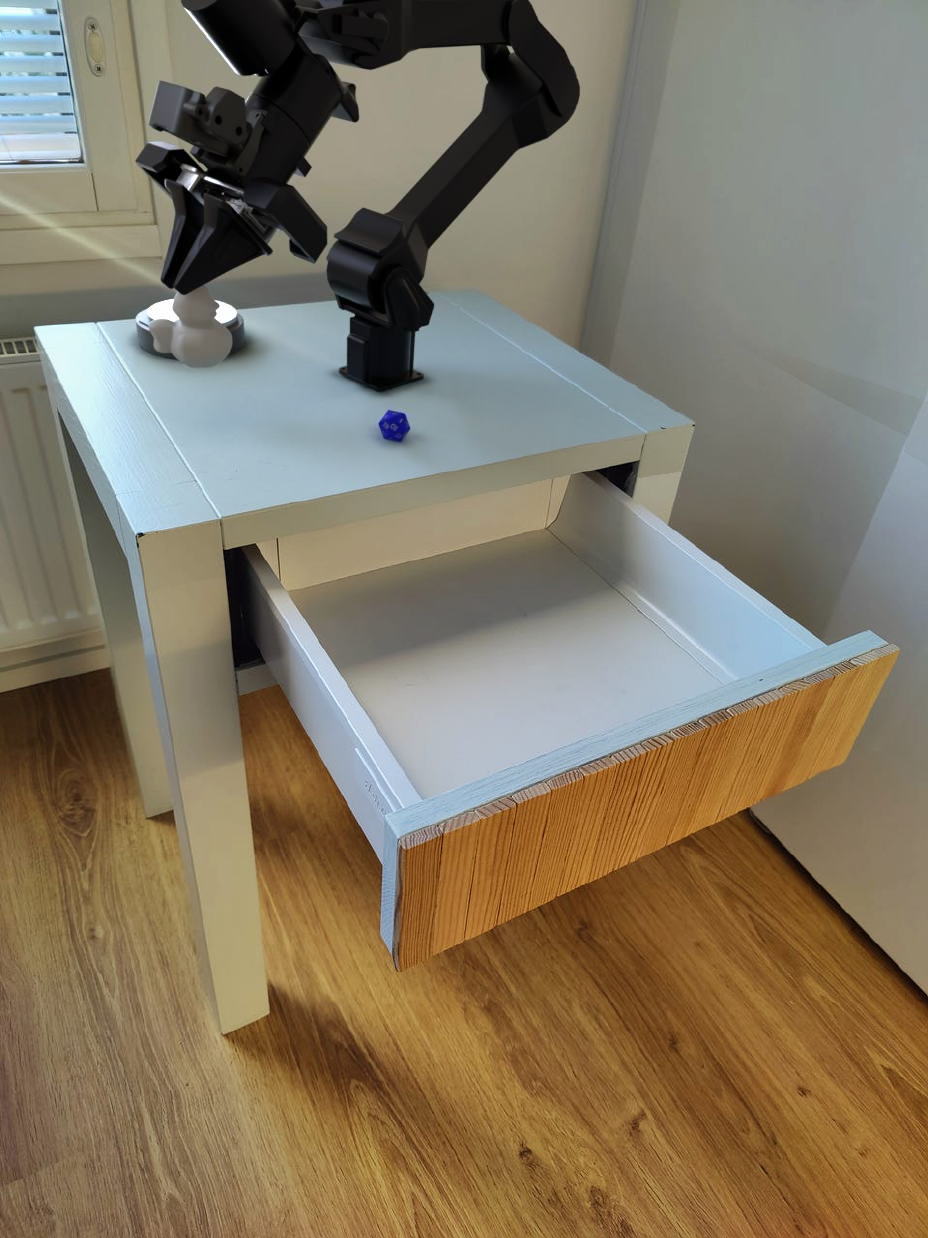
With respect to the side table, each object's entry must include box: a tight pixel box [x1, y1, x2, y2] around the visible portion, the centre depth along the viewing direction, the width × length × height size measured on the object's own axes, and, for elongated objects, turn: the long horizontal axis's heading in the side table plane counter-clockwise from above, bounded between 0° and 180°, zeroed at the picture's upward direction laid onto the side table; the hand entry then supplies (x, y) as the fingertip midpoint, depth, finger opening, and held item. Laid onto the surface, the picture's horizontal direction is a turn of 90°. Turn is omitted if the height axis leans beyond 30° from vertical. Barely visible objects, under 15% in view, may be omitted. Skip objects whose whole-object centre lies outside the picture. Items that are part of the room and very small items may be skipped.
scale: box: [135, 298, 246, 360], centre depth 92 cm, size 11×11×3 cm
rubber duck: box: [148, 285, 232, 369], centre depth 71 cm, size 5×7×8 cm
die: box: [377, 409, 411, 443], centre depth 78 cm, size 3×3×3 cm
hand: (171, 288), depth 69 cm, fingers closed on rubber duck
